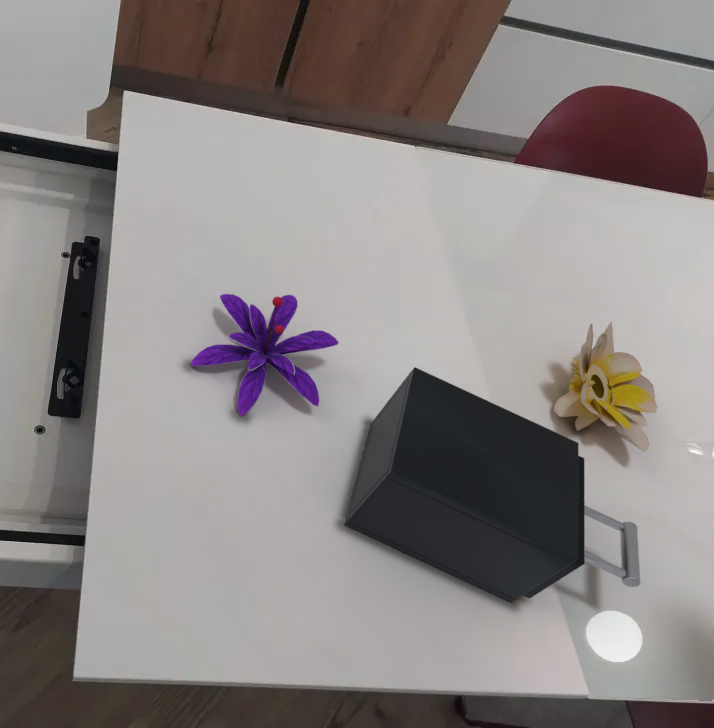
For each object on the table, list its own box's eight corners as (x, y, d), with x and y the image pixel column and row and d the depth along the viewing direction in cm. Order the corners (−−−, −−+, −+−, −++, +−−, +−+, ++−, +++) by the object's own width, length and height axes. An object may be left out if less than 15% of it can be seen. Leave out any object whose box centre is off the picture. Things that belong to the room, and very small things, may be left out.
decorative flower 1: (352, 328, 78) (372, 289, 72) (299, 448, 71) (315, 418, 65) (233, 275, 80) (242, 232, 73) (170, 388, 73) (173, 352, 66)
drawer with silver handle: (600, 528, 74) (655, 491, 68) (602, 633, 66) (664, 601, 60) (394, 432, 74) (431, 387, 68) (372, 526, 66) (412, 484, 61)
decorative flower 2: (629, 480, 78) (678, 410, 71) (528, 425, 82) (566, 355, 76) (662, 414, 88) (707, 348, 81) (570, 368, 92) (606, 303, 86)
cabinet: (519, 492, 75) (578, 442, 68) (511, 602, 67) (578, 559, 59) (370, 423, 75) (414, 366, 68) (344, 525, 67) (390, 472, 59)
